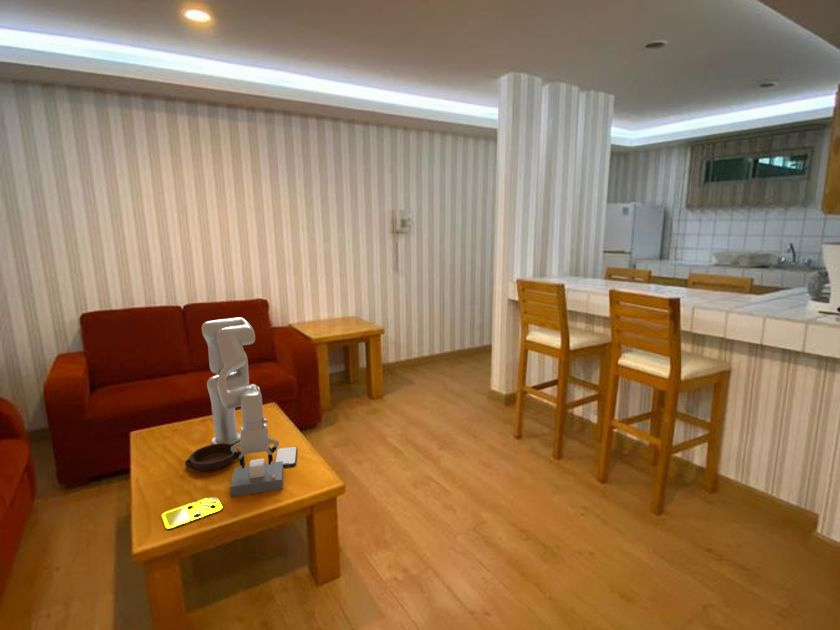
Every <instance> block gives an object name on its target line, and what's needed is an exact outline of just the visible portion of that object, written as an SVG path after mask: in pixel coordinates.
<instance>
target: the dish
mask: <svg viewBox="0 0 840 630" xmlns="http://www.w3.org/2000/svg"><path fill="white" fill-rule="evenodd" d="M234 445H235V444H226V443H220V444H210V445H206V446H203V447H200V448H198V449H196V450H194V451H193V452H192V453H191V454H190V455H189V457H188V459H186V460H185V461H184V465H185V467H186V468H195V469H196V470H198V471H202V472H211V471H216V470H220V469H222V468H225V467H226V466H228V465H230V464H231V463H232V462H233V460H236V459H239V458H238V457H237V456H235V455H234V453H233V452H232V451H231V447H232V446H234ZM236 450H237V451H238V452H241V450H238V448H237V449H236Z"/></svg>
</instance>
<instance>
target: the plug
mask: <svg viewBox="0 0 840 630" xmlns="http://www.w3.org/2000/svg"><path fill="white" fill-rule="evenodd" d="M265 464H266V462H265V458H264V457H262V458H256V459H251V460H250V461H249V465H248V466H249V470H250V478H256V477H262V476H264V474H265Z"/></svg>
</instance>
